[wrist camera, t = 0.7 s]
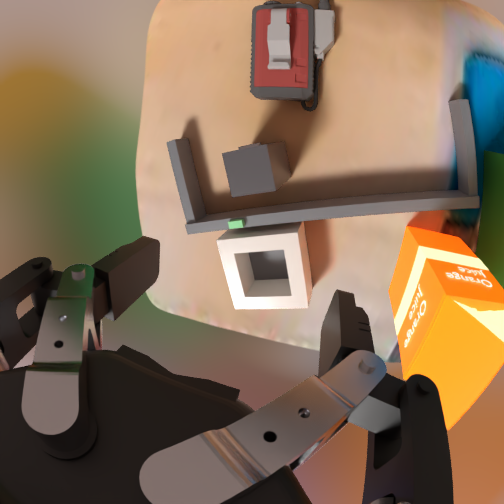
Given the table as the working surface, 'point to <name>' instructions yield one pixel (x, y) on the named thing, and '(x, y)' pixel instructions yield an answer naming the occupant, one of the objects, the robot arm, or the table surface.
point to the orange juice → (447, 318)
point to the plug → (257, 168)
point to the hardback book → (492, 216)
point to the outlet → (267, 266)
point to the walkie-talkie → (289, 50)
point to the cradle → (336, 206)
